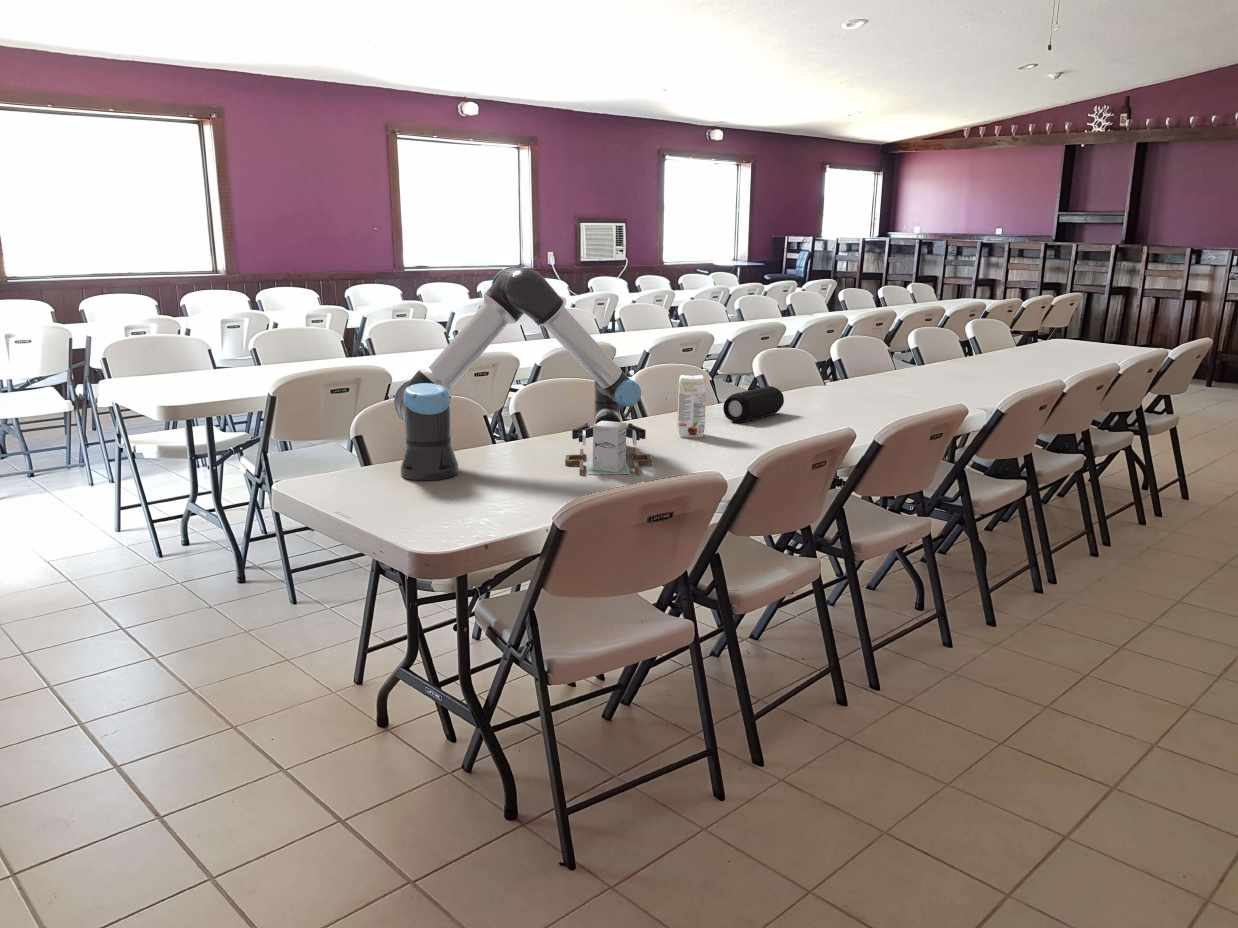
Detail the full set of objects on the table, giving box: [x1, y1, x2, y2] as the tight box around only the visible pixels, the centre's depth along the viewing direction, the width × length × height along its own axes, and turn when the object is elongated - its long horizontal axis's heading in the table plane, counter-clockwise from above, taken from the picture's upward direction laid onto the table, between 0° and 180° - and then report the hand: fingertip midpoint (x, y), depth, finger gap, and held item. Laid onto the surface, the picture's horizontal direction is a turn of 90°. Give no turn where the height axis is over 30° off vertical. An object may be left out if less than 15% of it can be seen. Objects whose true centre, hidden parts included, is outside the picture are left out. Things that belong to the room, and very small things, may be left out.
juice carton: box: [677, 374, 707, 439], centre depth 298 cm, size 8×9×19 cm
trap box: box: [564, 448, 653, 476], centre depth 264 cm, size 24×24×2 cm
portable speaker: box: [722, 385, 785, 424], centre depth 327 cm, size 26×10×10 cm, turn 139°
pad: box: [588, 463, 631, 476], centre depth 258 cm, size 11×10×1 cm
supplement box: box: [592, 421, 628, 473], centre depth 257 cm, size 7×7×13 cm
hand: (609, 440), depth 253 cm, fingers open, 13 cm apart
